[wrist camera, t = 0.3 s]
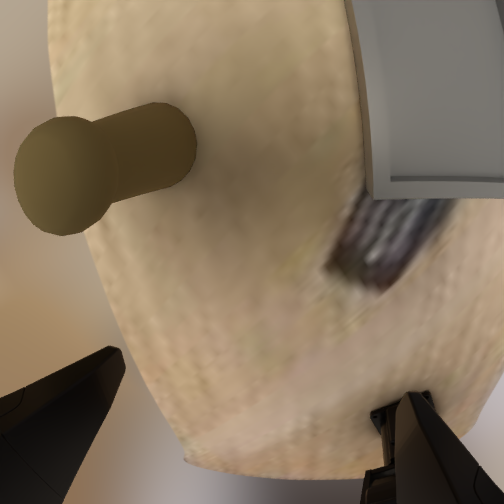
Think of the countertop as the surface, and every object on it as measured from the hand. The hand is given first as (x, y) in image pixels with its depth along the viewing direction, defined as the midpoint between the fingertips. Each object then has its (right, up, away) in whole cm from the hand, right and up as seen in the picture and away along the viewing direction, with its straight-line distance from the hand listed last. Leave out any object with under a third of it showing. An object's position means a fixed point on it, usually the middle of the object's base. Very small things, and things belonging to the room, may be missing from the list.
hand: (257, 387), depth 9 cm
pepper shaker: (-7, +11, +11) cm, 17 cm away
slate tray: (+12, +17, +5) cm, 21 cm away
